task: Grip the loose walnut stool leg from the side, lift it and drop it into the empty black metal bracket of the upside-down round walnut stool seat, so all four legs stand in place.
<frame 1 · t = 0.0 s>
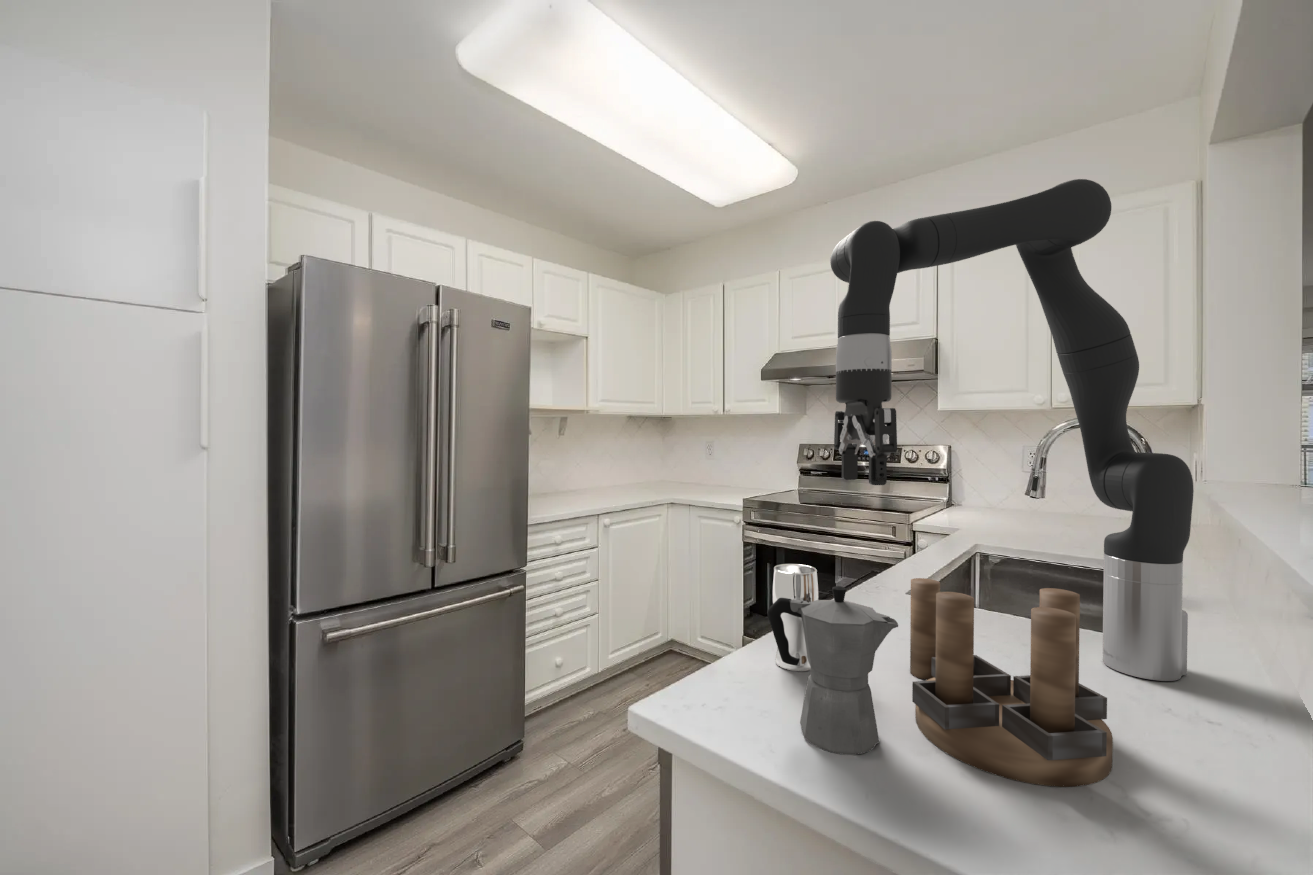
hand: (862, 482, 82), 29 cm above the counter, tool pointing down, fingers open, 8 cm apart
coffeepot: (829, 733, 69), on the counter
loose leg: (924, 674, 86), on the counter
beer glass: (795, 664, 90), on the counter
stool seat: (1006, 734, 69), on the counter
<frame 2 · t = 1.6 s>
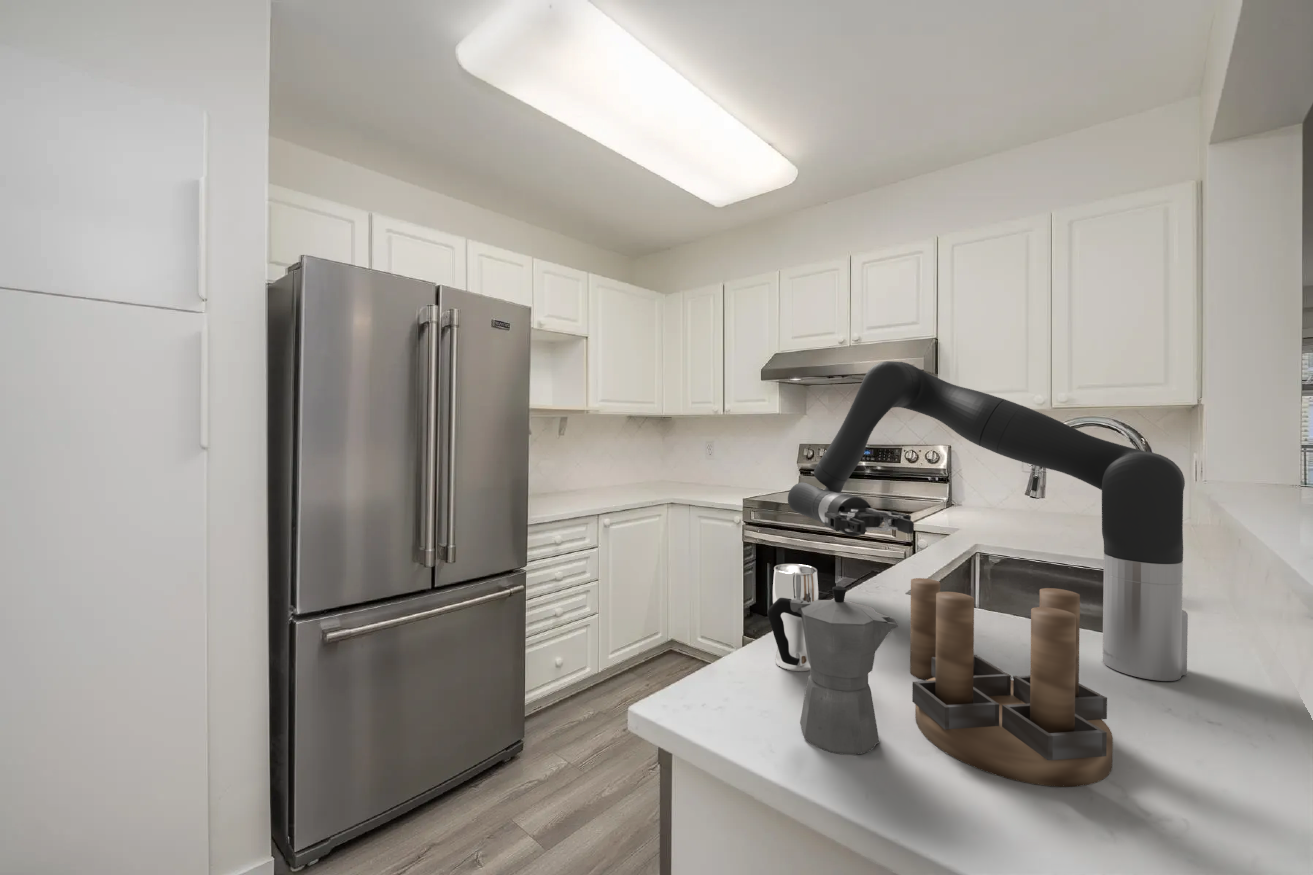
hand: (887, 528, 96), 20 cm above the counter, tool horizontal, fingers open, 8 cm apart
nothing on the counter moved.
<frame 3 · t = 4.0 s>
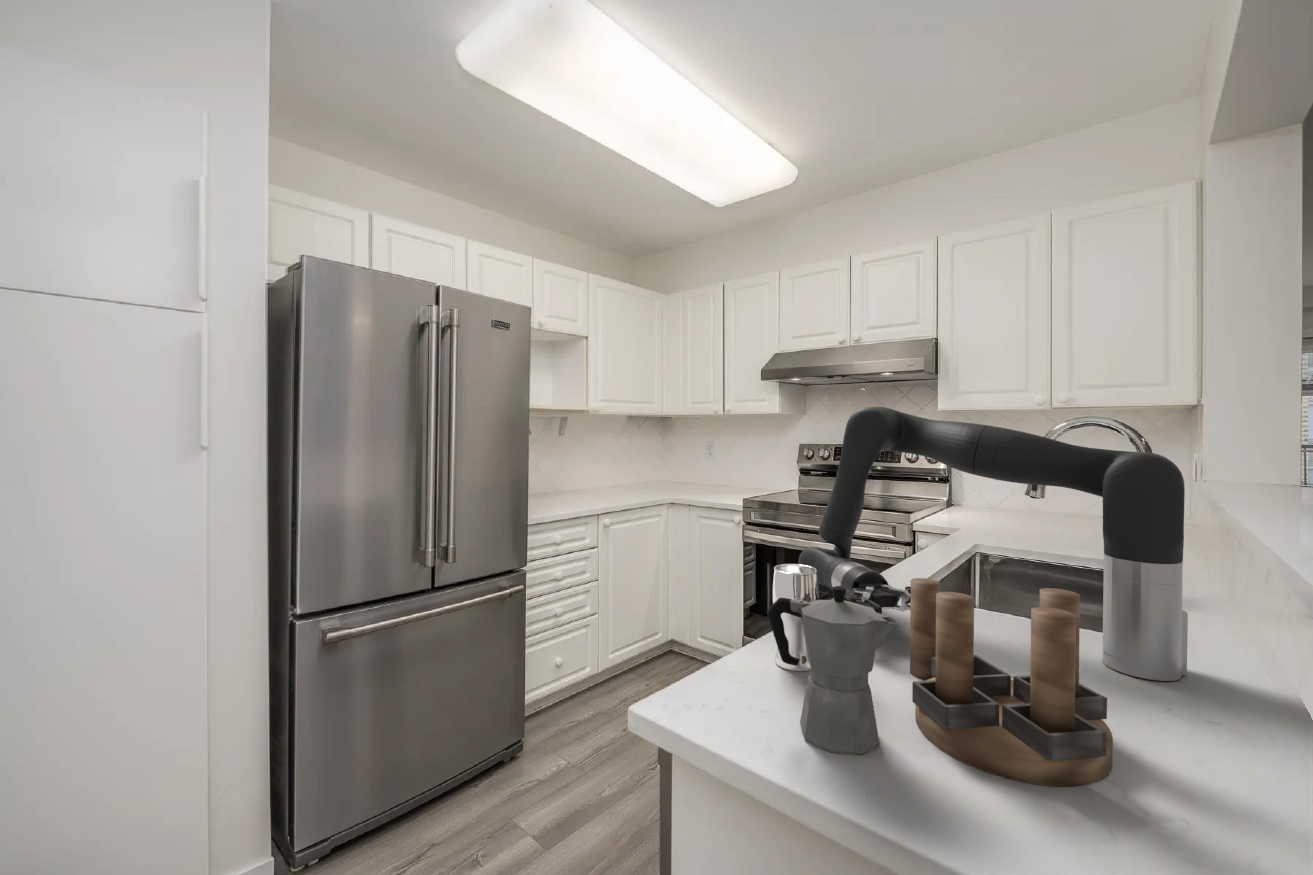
hand: (905, 613, 91), 7 cm above the counter, tool horizontal, fingers open, 8 cm apart
nothing on the counter moved.
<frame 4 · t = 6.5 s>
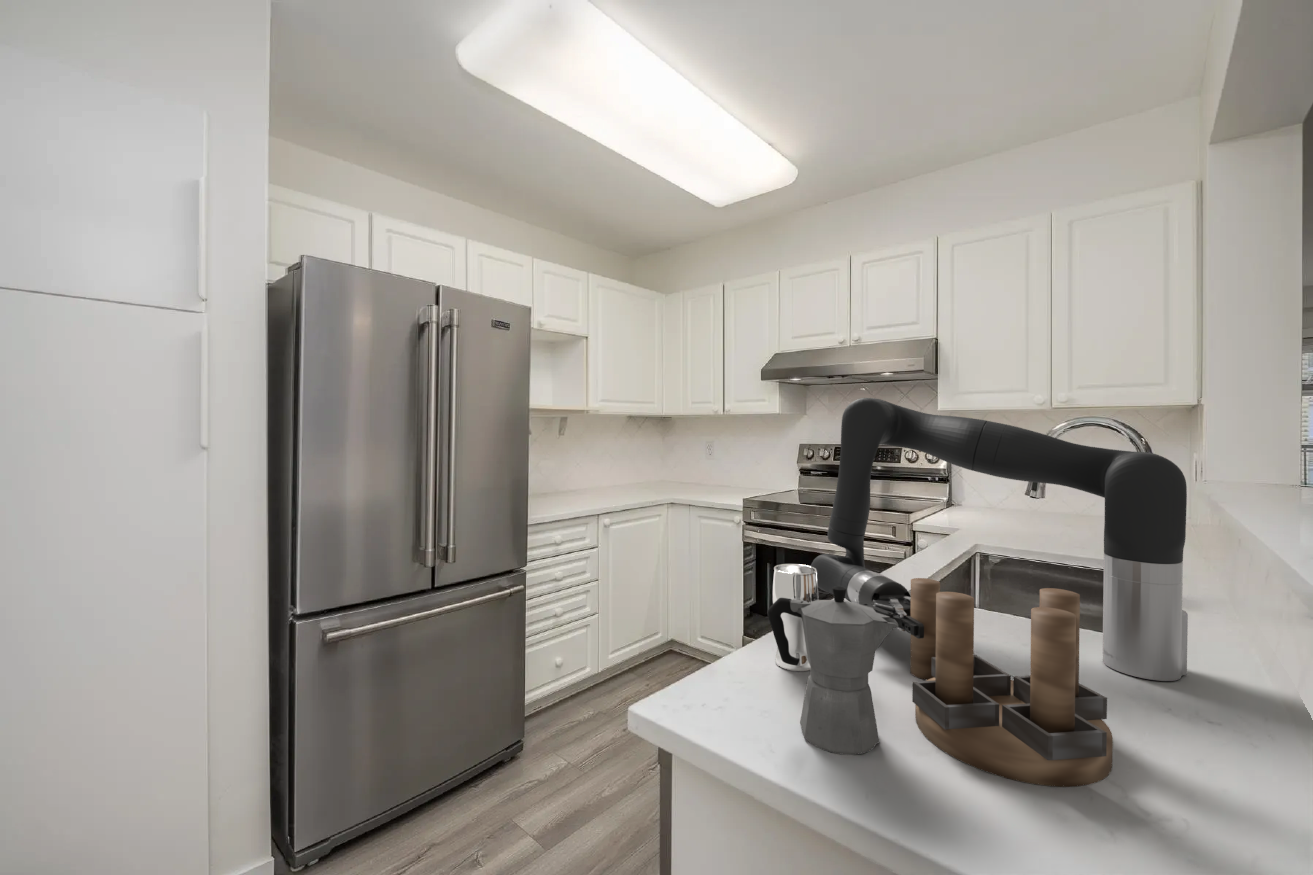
hand: (936, 631, 83), 8 cm above the counter, tool horizontal, fingers closed on loose leg, 4 cm apart
loose leg: (924, 674, 86), on the counter, touching gripper
everything else where it was.
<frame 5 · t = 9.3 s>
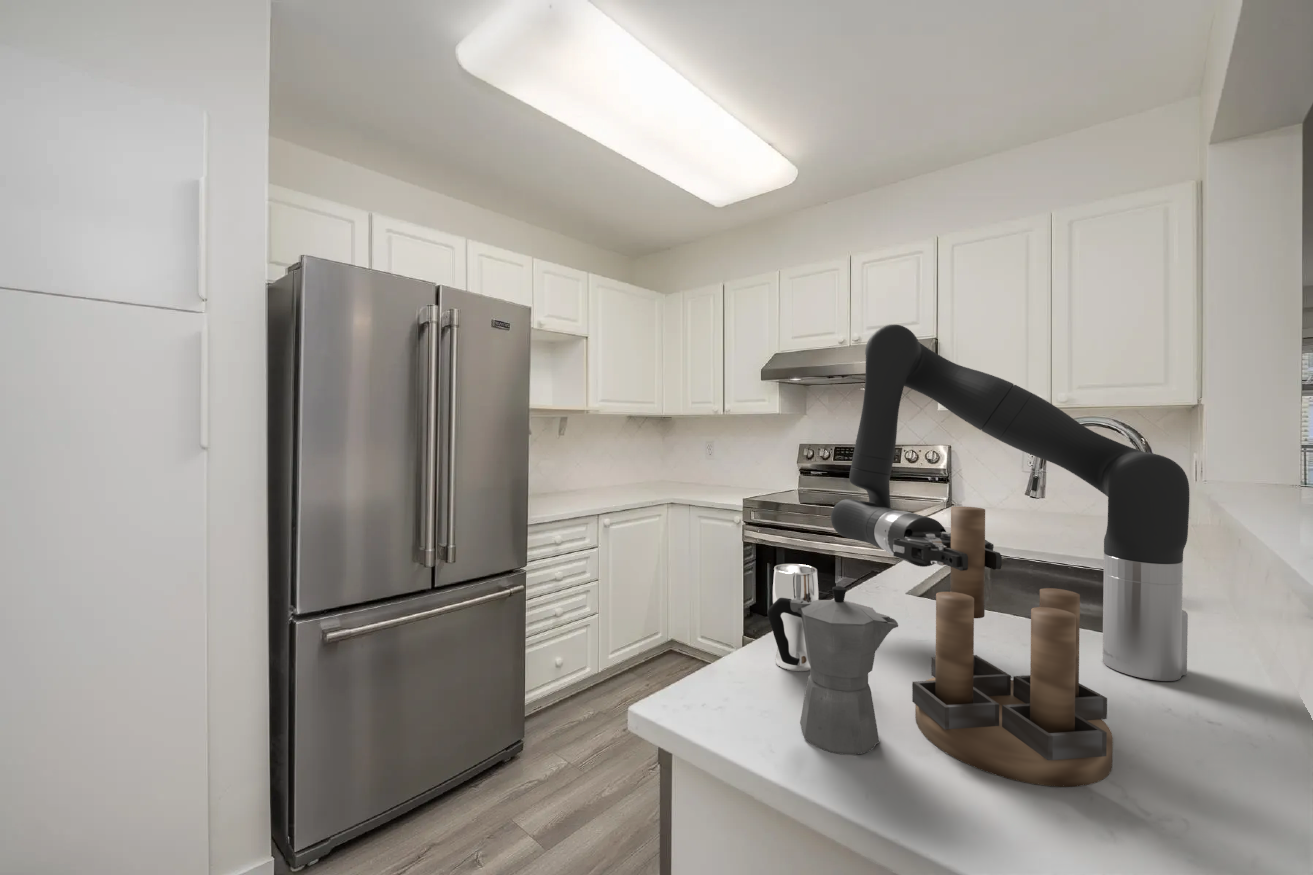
hand: (981, 562, 73), 20 cm above the counter, tool horizontal, fingers closed on loose leg, 4 cm apart
loose leg: (967, 613, 76), point 12 cm above the counter, touching gripper
everything else where it was.
when the fingers open (12 cm above the counter, at t = 12.0 s): loose leg drops 1 cm, resting on stool seat.
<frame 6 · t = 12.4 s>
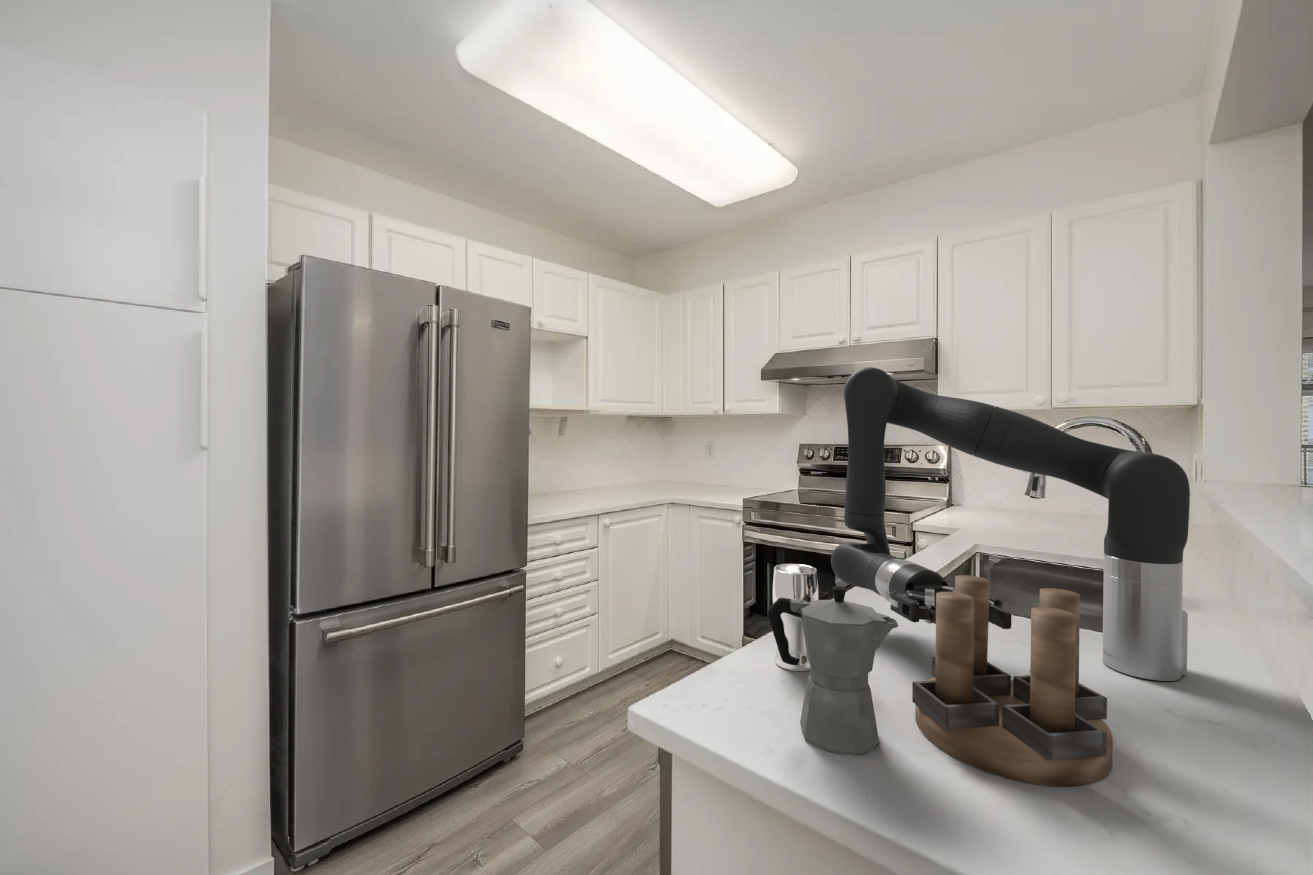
hand: (981, 622, 73), 12 cm above the counter, tool horizontal, fingers open, 7 cm apart
loose leg: (969, 684, 76), point 3 cm above the counter, touching stool seat
everything else where it was.
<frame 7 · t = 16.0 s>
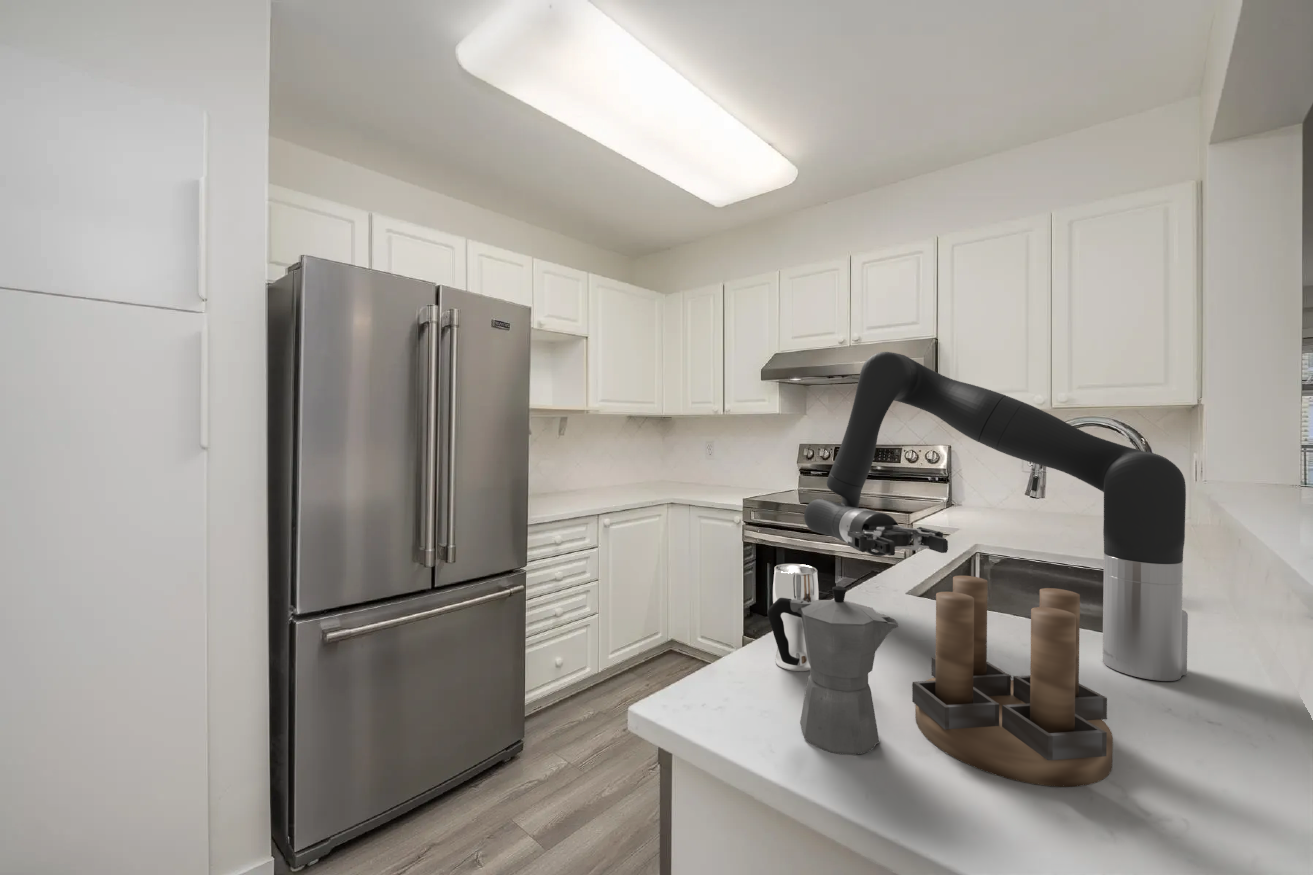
hand: (919, 547, 87), 19 cm above the counter, tool horizontal, fingers open, 8 cm apart
nothing on the counter moved.
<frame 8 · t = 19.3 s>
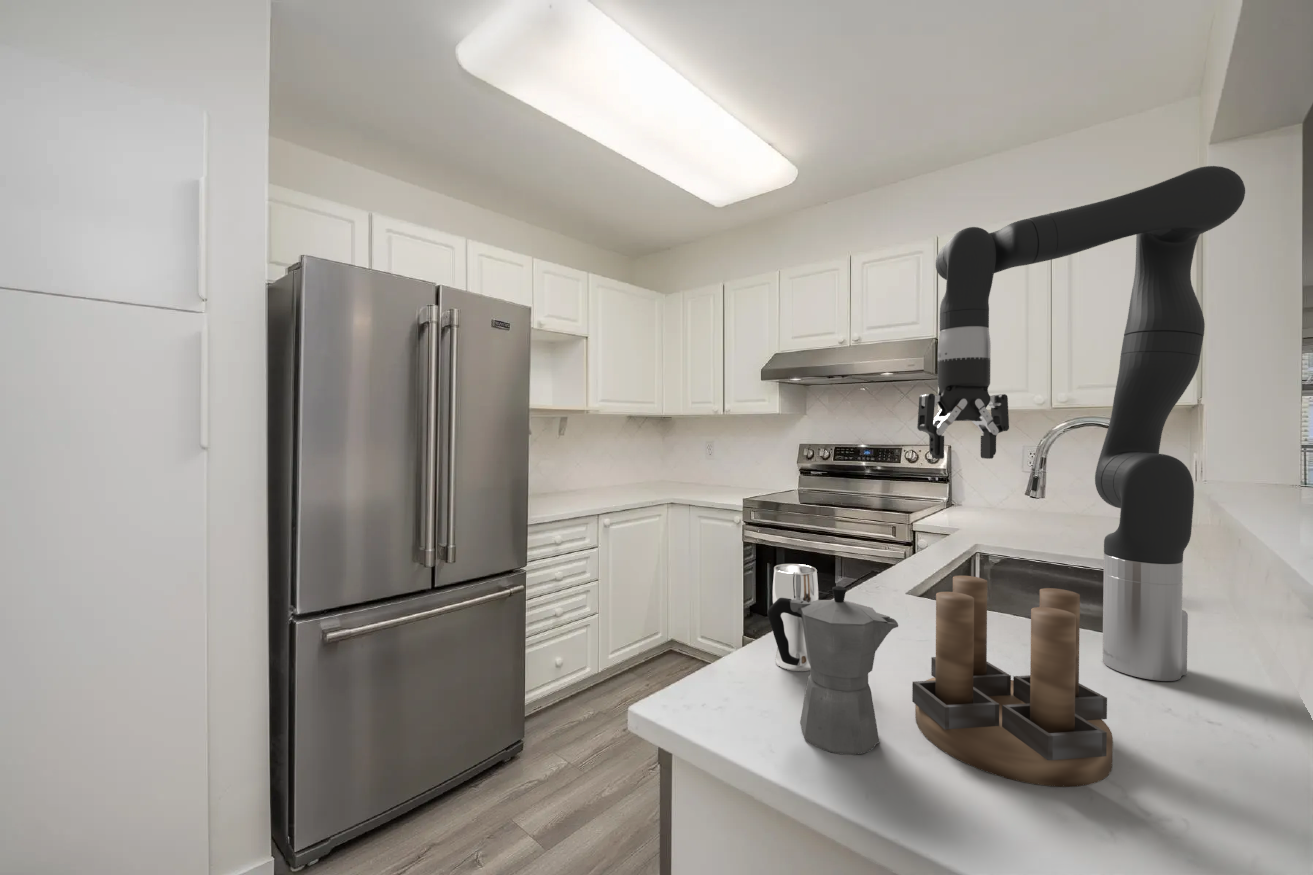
hand: (962, 458, 92), 32 cm above the counter, tool pointing down, fingers open, 8 cm apart
nothing on the counter moved.
at the end: loose leg 0.1 cm from the target spot on the stool seat, point 3.0 cm above the stool seat's base; loose leg tilted 0°; the gripper is holding nothing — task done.
